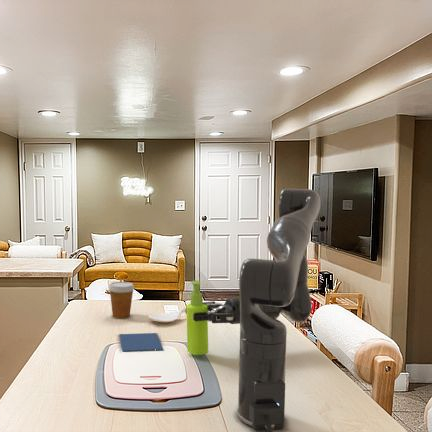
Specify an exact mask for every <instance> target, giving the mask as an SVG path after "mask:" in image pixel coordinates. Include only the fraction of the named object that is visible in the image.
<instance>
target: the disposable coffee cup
mask: <svg viewBox="0 0 432 432" xmlns="http://www.w3.org/2000/svg"><path fill="white" fill-rule="evenodd" d="M134 289H135V286H134V284H133V283H132V282H129V281H114V282H110V283H109V286H108V290H109V295H110V304H111V312H112V317H113V318H115V319H127V318H129V317H130V316H131V309H132V300H133V294H134Z"/></svg>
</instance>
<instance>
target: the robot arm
mask: <svg viewBox="0 0 432 432" xmlns="http://www.w3.org/2000/svg"><path fill="white" fill-rule="evenodd" d="M321 207H322V200H321V196H320V194H319V192H318V191H316V190H314V189H309V188H308V189H307V188H283V189H281V191H280V193H279V196H278V200H277V218H278V219H276V221H274V223H273V224H272V226H271V228H270V230H269V232H268V234H267V237H266V246H267V249H268V251H269V253H270V255H271V256H272V257H273V258H274V259H263V258H246V259H245V260H243V262H242V264H241V266H240V269H239V274H238V275H239V277H238V292H239V296H237V297H228V298H226V300H225V301H224V303H223V304H222V303H220V302H216V301H214V300H213V301H204V302H203V304H205V305H207V313H206V312H199V313H194V314H193V320H194V321H208V323H209V322H211V323H212V324H230V325H239V327H240V328H239V357H238V358H239V359H238V391H237V392H238V394H237V395H238V397H237V398H238V399H237V417H238V419H239V421H241V422H242V423H243V424H245V425H247V426H249V427H251V428H252V429H253V430H254V431H264V430H266V432H272V430H280V429H281V430H282V429H284V428H285V408H286V360H287V334H288V331H287V327H286V325H285V324H284V323H283V322H282V321H281V320H279V319H278V318H279V317H280V315H281V314H285V315H286V316H287V317H288V318H289V319H290V320H292V321H293V322H295V323H304V322H306V321H307V320H308V319H309V318H310V315H311V313H312V309H313V308H312V299H311V293H310V289H309V286H308V276H309V263H308V258H307V256H306V254H305V252H307V251H306V250H307V248H308V245H309V242H310V239H311V234H312V229H313V227H314V225H315V223H316V222H317V220H318V218H319V215H320V212H321ZM208 311H209V312H208ZM185 315H187V312H185Z"/></svg>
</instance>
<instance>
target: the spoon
mask: <svg viewBox="0 0 432 432" xmlns="http://www.w3.org/2000/svg"><path fill="white" fill-rule="evenodd" d="M208 312H209V311H208ZM183 313H186V307H185V308H183V309H180V310H176V311H172V312H164V313H155V314H154V313H153V314H148V316H147V317H148V319H149V320H151V321H154V322H157V323H172V322H174V321H177V320H178V319H179V318H180V316H181V315H182V314H183Z"/></svg>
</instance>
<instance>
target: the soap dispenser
mask: <svg viewBox="0 0 432 432" xmlns="http://www.w3.org/2000/svg"><path fill="white" fill-rule="evenodd" d="M190 283H191V284H192V289H193V291H191V293H190V294H189V296H190V303H189V304H186V306H185V308H186V312H187V314H186V336H187V337H186V342H187V344H186V345H187V346H186V349H187V353H188V352H189V353H188V354H190V355H194V356H202V355H203V356H204V355H207V354H208V353H209V332H208V331H209V329H208V326H209V325H208V323H209V321H194V320H193V314H194V313H199V312H206V313H207V305H205V304H203V299H204V298H203V293H202V292H200V286H201V282H200V280H191V281H190ZM186 312H185V313H186Z"/></svg>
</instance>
